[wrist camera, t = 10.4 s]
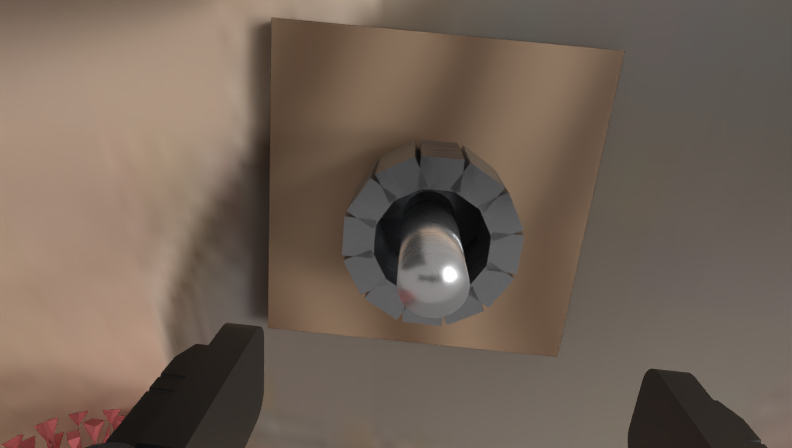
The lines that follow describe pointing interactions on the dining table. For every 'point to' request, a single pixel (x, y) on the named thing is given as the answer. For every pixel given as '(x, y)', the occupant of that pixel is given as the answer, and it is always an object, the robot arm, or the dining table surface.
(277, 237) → the board
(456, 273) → the post
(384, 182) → the ring
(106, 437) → the virus model
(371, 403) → the dining table surface
